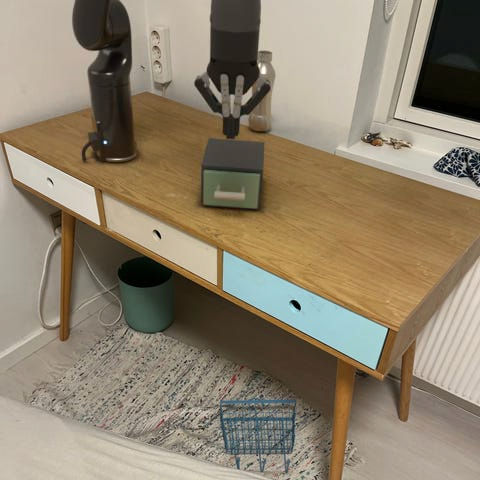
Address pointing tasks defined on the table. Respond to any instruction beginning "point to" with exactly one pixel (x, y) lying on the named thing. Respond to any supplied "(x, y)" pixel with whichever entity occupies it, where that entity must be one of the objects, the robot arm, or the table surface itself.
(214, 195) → the drawer
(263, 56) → the plastic bottle
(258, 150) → the cabinet
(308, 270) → the table surface
